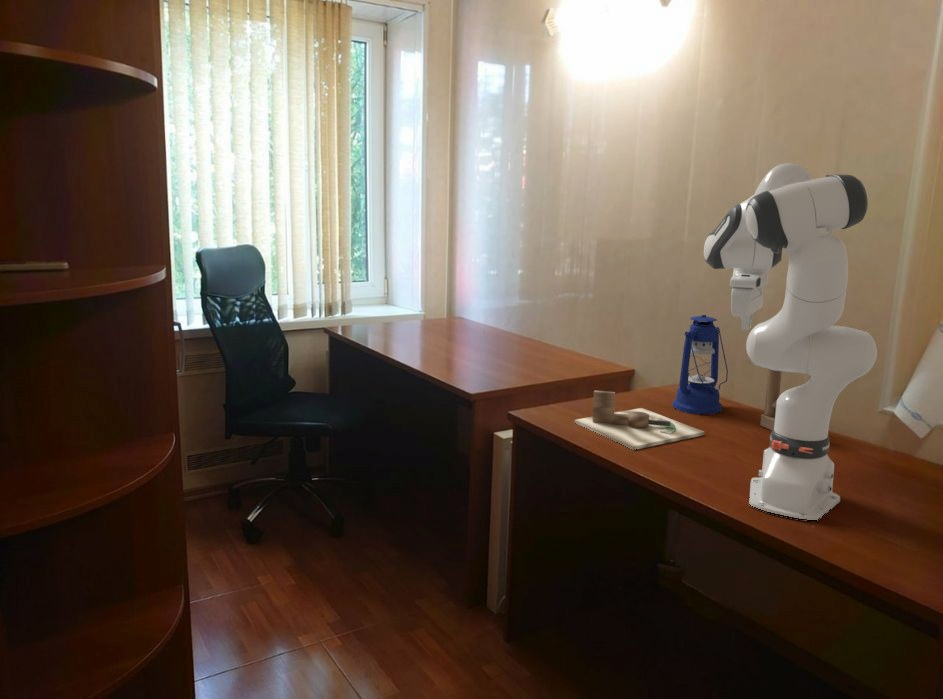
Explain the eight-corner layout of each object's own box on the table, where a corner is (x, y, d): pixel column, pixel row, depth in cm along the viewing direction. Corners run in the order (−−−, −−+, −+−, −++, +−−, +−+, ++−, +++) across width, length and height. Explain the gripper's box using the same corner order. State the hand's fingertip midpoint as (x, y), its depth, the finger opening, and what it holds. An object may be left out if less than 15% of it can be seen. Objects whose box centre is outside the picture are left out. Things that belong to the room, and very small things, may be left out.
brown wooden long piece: (591, 423, 207) (592, 393, 205) (594, 417, 212) (595, 388, 210) (669, 430, 201) (671, 400, 199) (670, 424, 206) (672, 394, 204)
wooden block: (784, 437, 199) (791, 375, 195) (759, 425, 209) (765, 366, 206) (795, 436, 200) (802, 374, 196) (770, 424, 210) (775, 365, 207)
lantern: (695, 397, 238) (702, 309, 231) (734, 409, 225) (742, 316, 219) (660, 406, 229) (665, 314, 222) (698, 418, 216) (705, 321, 210)
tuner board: (633, 450, 189) (633, 445, 189) (574, 423, 211) (574, 418, 211) (704, 435, 201) (704, 430, 201) (641, 410, 223) (641, 406, 223)
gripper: (747, 273, 198) (743, 322, 201) (728, 280, 182) (724, 333, 185) (771, 275, 195) (766, 324, 198) (754, 282, 178) (749, 336, 181)
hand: (745, 329), depth 191 cm, fingers closed
